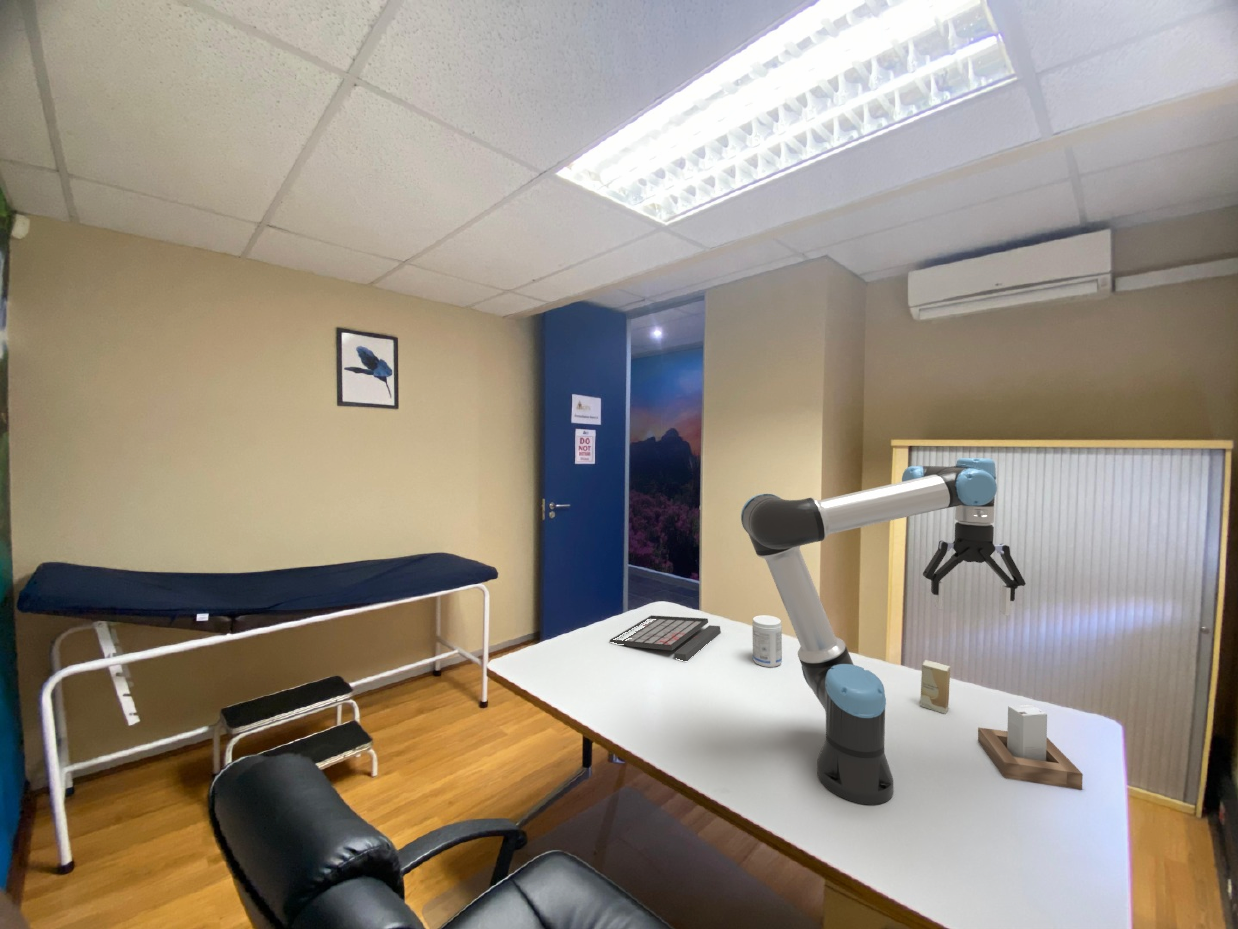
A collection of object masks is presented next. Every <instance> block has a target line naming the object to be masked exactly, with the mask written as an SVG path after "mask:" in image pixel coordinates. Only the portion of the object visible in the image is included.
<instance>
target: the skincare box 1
mask: <svg viewBox="0 0 1238 929" xmlns="http://www.w3.org/2000/svg"><path fill="white" fill-rule="evenodd" d="M950 678H951V666H950V665H946V664H942V663H939V662H935V661H931V660H928V659H925V660H924V661H923V662H922V664H921V680H920V682H921V683H920V684H921V685H920V704H919V705H920V707H923V708H925V709H929V710H932V711H934V712H937V713H941V714H946V713H947V712H948V710H949V705H950V704H949V703H950V702H949V700H950V680H951V679H950Z"/></svg>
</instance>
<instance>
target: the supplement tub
mask: <svg viewBox="0 0 1238 929" xmlns="http://www.w3.org/2000/svg"><path fill="white" fill-rule="evenodd" d="M782 628H783V627H782V620H781V619H780V618H779V617H776V616H773V615H768V614H765V615H764V614H763V615H756V616H754V617H753V618H752V659H753V661H754V663H755V664H757V665H759V666H762V667H766V668H775V667H778V666H780V665H781V664H782V662H783V661H782V660H783V653H782V652H783V646H782V645H783V644H782V643H783V642H782V639H783V637H782V636H783V635H782V633H783V632H782Z"/></svg>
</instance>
